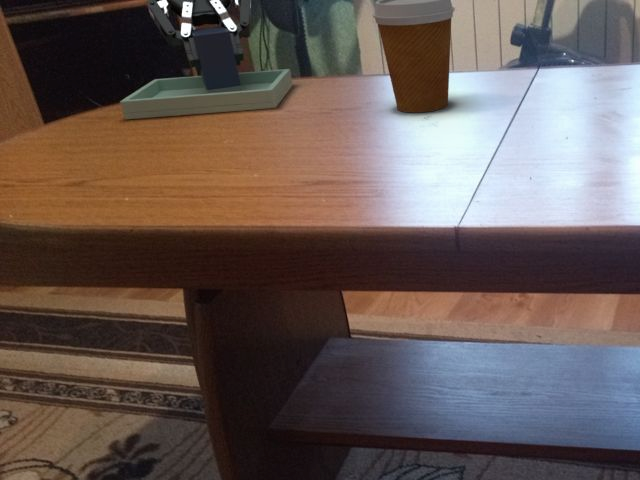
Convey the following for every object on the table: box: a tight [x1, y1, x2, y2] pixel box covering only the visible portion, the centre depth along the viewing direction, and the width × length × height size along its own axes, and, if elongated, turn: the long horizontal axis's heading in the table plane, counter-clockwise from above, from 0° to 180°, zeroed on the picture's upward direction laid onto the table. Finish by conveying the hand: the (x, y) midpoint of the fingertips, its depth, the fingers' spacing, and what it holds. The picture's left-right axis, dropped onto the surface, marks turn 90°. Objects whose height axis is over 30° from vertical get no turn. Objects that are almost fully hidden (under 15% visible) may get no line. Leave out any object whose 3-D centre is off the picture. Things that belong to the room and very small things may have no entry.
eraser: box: [191, 26, 242, 94], centre depth 99 cm, size 6×4×8 cm
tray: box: [119, 68, 294, 120], centre depth 100 cm, size 20×14×2 cm
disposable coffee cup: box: [372, 0, 456, 113], centre depth 87 cm, size 10×10×12 cm
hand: (217, 63), depth 98 cm, fingers closed on eraser, 4 cm apart
